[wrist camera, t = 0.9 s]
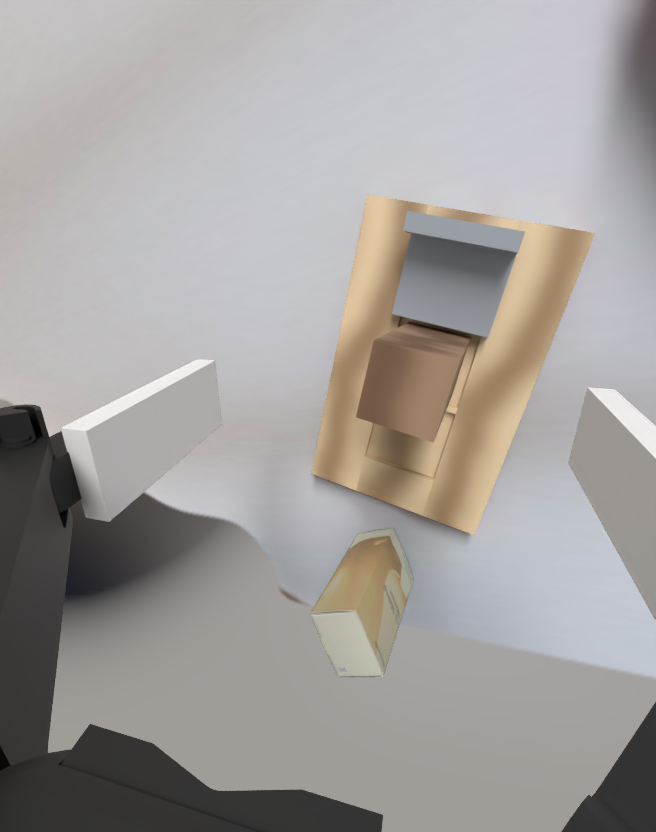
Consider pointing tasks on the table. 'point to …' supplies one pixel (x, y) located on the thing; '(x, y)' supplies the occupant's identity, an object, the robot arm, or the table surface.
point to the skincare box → (364, 605)
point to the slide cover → (455, 272)
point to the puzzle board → (477, 382)
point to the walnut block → (412, 379)
